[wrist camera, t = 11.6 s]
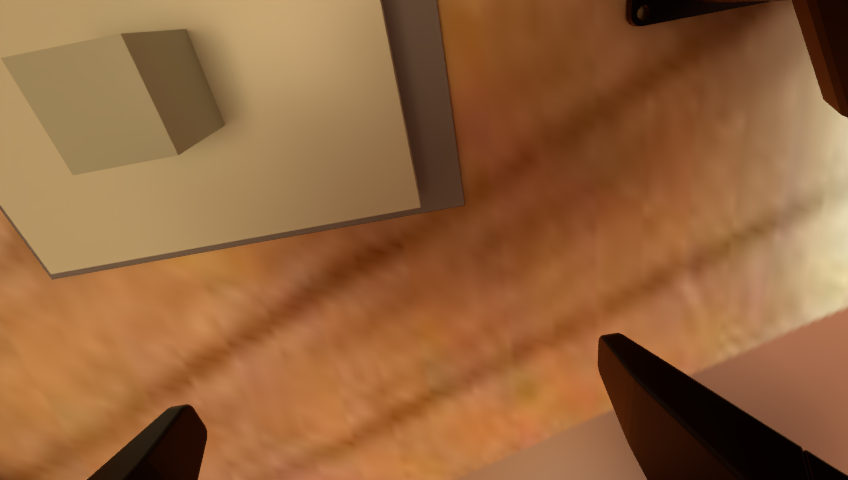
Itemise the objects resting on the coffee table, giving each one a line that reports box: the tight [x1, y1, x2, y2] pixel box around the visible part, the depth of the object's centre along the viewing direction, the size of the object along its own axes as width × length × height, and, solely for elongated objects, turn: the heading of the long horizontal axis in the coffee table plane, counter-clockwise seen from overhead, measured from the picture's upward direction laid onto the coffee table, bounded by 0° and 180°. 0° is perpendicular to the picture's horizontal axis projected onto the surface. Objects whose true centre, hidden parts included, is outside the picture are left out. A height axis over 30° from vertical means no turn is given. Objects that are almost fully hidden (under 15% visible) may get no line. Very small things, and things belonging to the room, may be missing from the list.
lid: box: [0, 0, 421, 274], centre depth 15 cm, size 18×14×6 cm
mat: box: [0, 0, 465, 279], centre depth 18 cm, size 22×16×1 cm
